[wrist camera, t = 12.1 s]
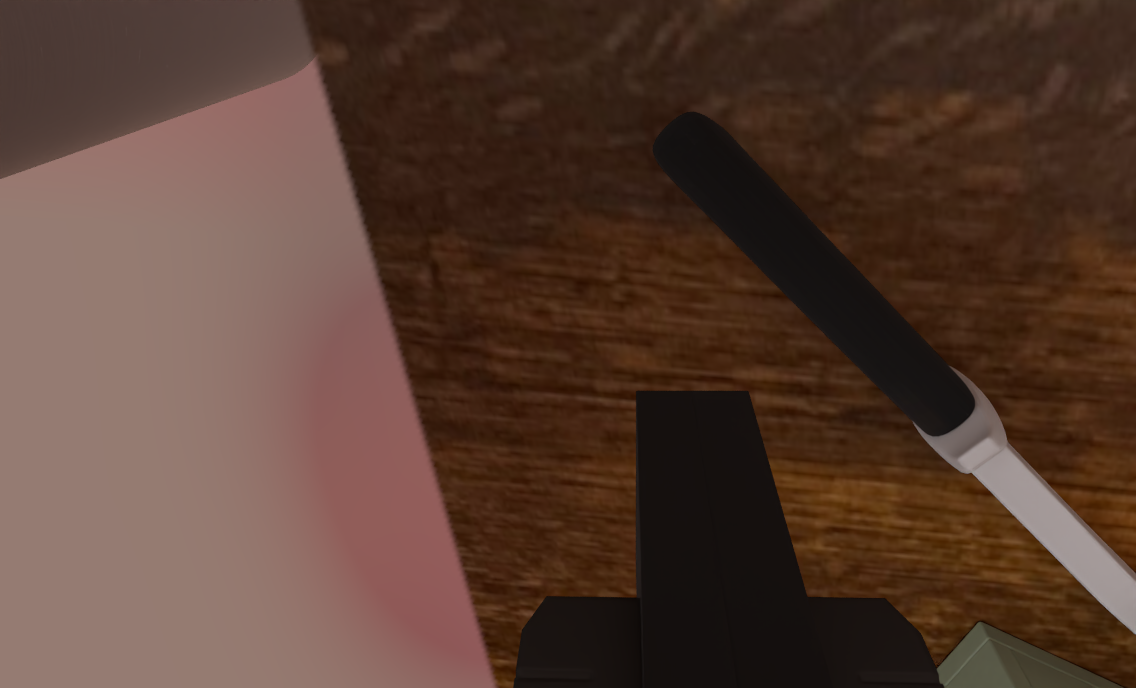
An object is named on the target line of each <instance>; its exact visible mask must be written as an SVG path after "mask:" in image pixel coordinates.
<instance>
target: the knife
mask: <svg viewBox="0 0 1136 688" xmlns="http://www.w3.org/2000/svg"><path fill="white" fill-rule="evenodd" d="M653 153H654V156H655V159H656V161H657V162H658V164H659V165H660V167H661V168H662V169H663V171H664V172H665V173H666V174H667V175H668V176H669V177H670V178H671V179H672V180H673V181H674V182H675V183H676V184H677V186H678V187H679V188H680V189H681V190H682V191H683V192H684V193H685V194H686V195H687V196H688V197H689V198H690V199H691V200H692V201H693V202H694V203H695V204H696V205H697V206H698V207H699V208H700V209H701V210H702V211H703V212H704V213H705V214H706V215H707V216H708V217H709V218H710V219H711V220H712V221H713V222H714V223H715V224H716V225H717V226H718V227H719V228H720V229H721V230H722V231H723V232H724V233H725V234H726V235H727V236H728V237H729V238H730V239H731V240H732V241H733V242H734V243H735V244H736V245H737V246H738V247H739V248H740V249H741V250H742V251H743V252H744V253H745V254H746V255H747V256H748V257H749V258H750V259H751V260H752V261H753V262H754V263H755V264H756V265H757V266H758V267H759V268H760V270H761V271H762V272H763V273H764V274H765V275H766V276H767V277H768V278H769V279H770V280H771V281H772V282H773V283H774V284H775V285H776V286H777V287H778V288H779V289H780V290H781V291H782V292H783V293H784V294H785V295H786V296H787V297H788V298H789V299H790V300H791V301H792V302H793V303H794V304H795V305H796V306H797V307H798V308H799V309H800V310H801V311H802V312H803V313H804V314H805V315H806V316H807V317H808V318H809V319H810V320H811V321H812V322H813V323H814V324H815V325H816V326H817V327H818V328H819V329H820V330H821V331H822V332H823V333H824V334H825V335H826V336H827V337H828V338H829V339H830V340H831V341H832V342H833V343H834V344H835V345H836V346H837V347H838V348H839V349H840V350H841V351H842V352H843V353H844V354H845V355H846V356H847V357H848V358H849V359H850V360H851V361H852V362H853V363H854V364H855V365H856V366H857V367H858V368H859V369H860V370H861V371H862V372H863V373H864V374H865V375H866V376H867V377H868V378H869V379H870V380H871V381H872V382H873V383H874V384H875V385H876V386H877V387H878V388H879V389H880V390H882V391H883V392H884V393H885V394H886V395H887V396H888V397H889V398H890V399H891V400H892V401H893V402H894V403H895V404H896V405H897V406H898V407H899V408H900V409H901V410H902V411H903V412H904V413H905V414H906V415H907V416H908V417H909V418H910V419H911V420H912V421H913V423H914V425H915V427H916V428H917V430H918V431H919V433H920V434H921V435H922V437H923V438H924V439H925V440H926V441H927V443H928V444H929V445H930V446H931V447H932V448H933V449H934V450H935V451H936V452H937V453H938V454H939V455H940V456H941V457H943V458H944V459H945V460H946V461H947V462H948V463H950V464H951V465H952V466H953V467H955V468H956V469H957V470H959V471H960V472H962V473H966V474H968V473H972V474H973V475H974V476H975V477H976V478H977V479H978V480H979V481H980V482H981V483H982V484H983V485H984V486H985V487H986V488H987V489H988V490H989V491H990V492H991V493H992V494H993V495H994V496H995V497H996V498H997V499H998V500H999V501H1000V502H1001V503H1002V504H1003V505H1004V506H1005V507H1006V508H1007V509H1008V510H1009V511H1010V512H1011V513H1012V514H1013V515H1014V516H1015V517H1016V518H1017V519H1018V520H1019V521H1020V522H1021V523H1022V524H1023V525H1024V526H1025V527H1026V528H1027V529H1028V530H1029V531H1030V532H1031V533H1032V534H1033V535H1034V536H1035V537H1036V538H1037V539H1038V540H1039V541H1040V542H1041V543H1042V544H1043V545H1044V546H1045V547H1046V549H1047V550H1048V551H1049V552H1050V553H1051V554H1052V555H1053V556H1054V557H1055V558H1056V559H1057V560H1058V561H1059V562H1060V563H1061V564H1062V565H1063V566H1064V567H1065V568H1066V569H1067V570H1068V571H1069V572H1070V573H1071V574H1072V575H1073V576H1074V577H1075V578H1076V579H1077V580H1078V581H1079V582H1080V583H1081V584H1082V585H1083V586H1084V587H1085V588H1086V589H1087V590H1088V591H1089V592H1090V593H1091V594H1092V595H1093V596H1094V597H1095V598H1096V599H1097V600H1098V601H1099V602H1100V603H1101V604H1102V605H1103V606H1104V607H1105V608H1106V609H1107V610H1108V611H1110V612H1111V613H1112V614H1113V615H1114V616H1115V617H1116V618H1117V619H1118V620H1119V621H1121V622H1122V623H1123V624H1124V625H1125V626H1126V627H1127V628H1129V629H1130V630H1131V631H1132V632H1133V633H1134V634H1135V635H1136V573H1135V572H1134V571H1133V570H1132V569H1131V568H1130V567H1129V566H1128V565H1127V564H1126V563H1125V562H1124V561H1123V560H1122V559H1121V558H1120V557H1119V556H1118V555H1117V554H1116V553H1115V552H1114V551H1113V550H1112V549H1111V548H1110V547H1109V546H1108V545H1107V544H1106V543H1105V542H1104V541H1103V540H1102V539H1101V538H1100V537H1099V536H1098V535H1097V534H1096V533H1095V532H1094V531H1093V530H1092V529H1091V528H1090V527H1089V526H1088V525H1087V524H1086V523H1085V522H1084V521H1083V520H1082V519H1081V518H1080V517H1079V516H1078V515H1077V514H1076V512H1075V511H1074V510H1073V509H1072V508H1071V507H1070V506H1069V505H1068V504H1067V503H1066V502H1065V501H1064V500H1063V499H1062V498H1061V497H1060V496H1059V495H1058V494H1057V493H1056V492H1055V491H1054V490H1053V489H1052V488H1051V487H1050V486H1049V485H1048V483H1047V482H1046V481H1045V480H1044V479H1043V478H1042V477H1041V476H1040V475H1039V474H1038V473H1037V472H1036V471H1035V470H1034V469H1033V468H1032V467H1031V466H1030V465H1029V464H1028V463H1027V462H1026V461H1025V459H1024V458H1023V457H1022V456H1021V455H1020V454H1019V453H1018V452H1017V451H1016V450H1015V449H1014V448H1013V447H1012V446H1011V445H1010V444H1009V443H1008V442H1007V437H1006V433H1005V430H1004V427H1003V425H1002V423H1001V420H1000V418H999V416H998V414H997V412H996V411H995V409H994V407H993V406H992V404H991V403H990V401H989V400H988V399H987V397H986V396H985V395H984V394H983V393H982V392H981V391H980V389H979V388H978V387H977V386H976V385H975V384H974V383H973V382H971V381H970V380H969V379H968V378H967V377H966V376H964V375H963V374H962V373H960V372H959V371H958V370H956V369H954V368H953V367H951V366H949V365H948V364H947V363H946V362H945V361H944V360H943V359H942V358H941V357H940V356H939V355H938V354H937V353H936V352H935V351H934V350H933V349H932V348H931V347H930V345H929V344H928V343H927V342H926V341H925V340H924V339H923V338H922V337H921V336H920V335H919V334H918V333H917V332H916V331H915V330H914V329H913V328H912V327H911V325H910V324H909V323H908V322H907V321H906V320H905V319H904V318H903V317H902V316H901V315H900V314H899V313H898V312H897V311H896V310H895V309H894V308H893V306H892V305H891V304H890V303H889V302H888V301H887V300H886V299H885V298H884V297H883V296H882V295H881V294H880V293H879V292H878V291H877V290H876V289H875V287H874V286H873V285H872V284H871V283H870V282H869V281H868V280H867V279H866V278H865V277H864V276H863V275H862V274H861V273H860V272H859V271H858V270H857V269H856V267H855V266H854V265H853V264H852V263H851V262H850V261H849V260H848V259H847V258H846V257H845V256H844V255H843V254H842V253H841V252H840V251H839V250H838V249H837V247H836V246H835V245H834V244H833V243H832V242H831V241H830V240H829V239H828V238H827V237H826V236H825V235H824V234H823V233H822V232H821V231H820V230H819V229H818V227H817V226H816V225H815V224H814V223H813V222H812V221H811V220H810V219H809V218H808V217H807V216H806V215H805V214H804V213H803V212H802V211H801V210H800V209H799V207H798V206H797V205H796V204H795V203H794V202H793V201H792V200H791V199H790V198H789V197H788V196H787V195H786V194H785V193H784V192H783V191H782V189H781V188H780V187H779V186H778V185H777V184H776V183H775V182H774V181H773V180H772V179H771V178H770V177H769V176H768V175H767V174H766V173H765V171H764V170H763V169H762V168H761V167H760V166H759V165H758V164H757V163H756V162H755V161H754V160H753V159H752V158H751V157H750V156H749V154H748V153H747V152H746V151H745V150H744V149H743V148H742V147H741V146H740V145H739V144H738V143H737V142H736V141H735V140H734V138H733V137H732V136H731V135H730V134H729V133H728V132H727V131H726V130H724V129H723V128H722V127H721V126H720V125H718V124H717V123H715V122H714V121H713V120H711V119H710V118H708V117H707V116H705V115H702V114H700V113H697V112H687V113H684V114H682V115H680V116H678V117H677V118H676V119H674V120H673V121H672V122H671V123H670V124H668V125H667V126H666V127H665V128H664V129H663V131H662V132H661V133H660V134H659V135H658V137H657V138H656V140H655V142H654V145H653Z"/></svg>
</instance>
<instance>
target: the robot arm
mask: <svg viewBox="0 0 1136 688" xmlns="http://www.w3.org/2000/svg"><path fill="white" fill-rule="evenodd" d="M636 586H637V598H622V597H556V596H547V597H546V598H545V599H544V601H543V602H542V603H541V605H540V606H539V607H538V609H537V610H536V612H535V613H534V614H533V616H532V617H531V618H530V620H529V621H528V622H527V624H526V625H525V627H524V628H523V629H522V634H521V641H520V647H519V654H518V660H517V667H516V678H515V680H514V686H513V688H945V687H944V685H943V684H940V681H939V674H938V672H937V669H936V667H935V665H934V662H933V660H932V658H931V656H930V653H929V651H928V649H927V646H926V644H925V642H924V640H923V637H922V635H921V633H920V632H919V631H918V630H917V629H916V628H915V627H914V626H913V625H912V624H911V623H910V622H909V621H908V620H907V619H906V618H905V617H904V616H902V615H901V614H900V613H899V612H898V611H897V610H896V609H895V608H894V607H893V606H892V605H891V604H890V603H889V602H888V601H887V600H886V599H885V598H832V597H807V594H806V591H805V587H804V584H803V580H802V577H801V573H800V570H799V566H798V563H797V559H796V556H795V552H794V549H793V545H792V542H791V538H790V535H789V531H788V528H787V524H786V521H785V517H784V514H783V510H782V507H781V503H780V500H779V496H778V493H777V489H776V486H775V482H774V479H773V476H772V472H771V469H770V465H769V462H768V458H767V455H766V451H765V448H764V444H763V441H762V437H761V434H760V430H759V427H758V423H757V420H756V416H755V413H754V409H753V406H752V402H751V399H750V395H749V392H748V391H636Z"/></svg>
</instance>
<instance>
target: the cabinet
mask: <svg viewBox="0 0 1136 688" xmlns="http://www.w3.org/2000/svg"><path fill="white" fill-rule="evenodd" d="M937 672H938V674H939V681H940V684H943V685H944V687H945V688H1124V687H1121V686H1119V685H1117V684H1115V683H1113V682H1111V681H1108V680H1106V679H1104V678H1102V677H1100V676H1098V675H1095V674H1093V673H1091V672H1089V671H1087V670H1085V669H1082V668H1080V667H1078V666H1076V665H1074V664H1072V663H1069V662H1067V661H1065V660H1063V659H1061V658H1059V657H1056V656H1054V655H1052V654H1050V653H1048V652H1046V651H1043V650H1041V649H1039V648H1037V647H1035V646H1033V645H1030V644H1028V643H1026V642H1024V641H1022V640H1020V639H1017V638H1015V637H1013V636H1011V635H1009V634H1007V633H1004V632H1002V631H1000V630H998V629H996V628H994V627H991V626H989V625H987V624H985V623H983V622H978V623H977V624H976V626H975V627H974V628H973V629H972V630H971V631H970V632H969V633H968V635H967V636H966V637H965V638H964V639H963V640H962V641H961V642H960V643H959V645H958V646H957V647H956V648H955V649H954V650H953V651H952V652H951V654H950V655H949V656H948V657H947V658H946V659H945V660H944V661H943V663H942V664H941V665H940V666H939V667H938V668H937Z"/></svg>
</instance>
